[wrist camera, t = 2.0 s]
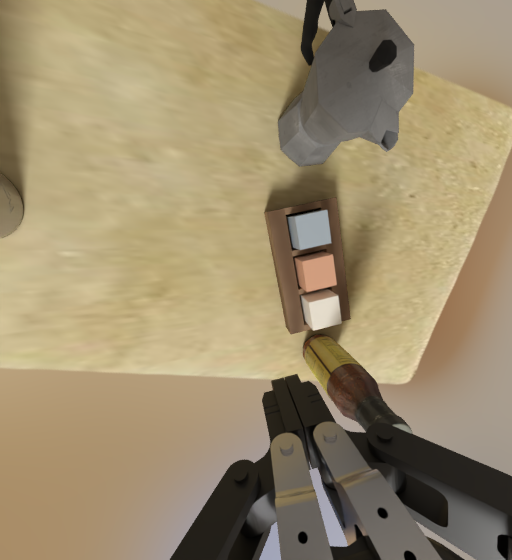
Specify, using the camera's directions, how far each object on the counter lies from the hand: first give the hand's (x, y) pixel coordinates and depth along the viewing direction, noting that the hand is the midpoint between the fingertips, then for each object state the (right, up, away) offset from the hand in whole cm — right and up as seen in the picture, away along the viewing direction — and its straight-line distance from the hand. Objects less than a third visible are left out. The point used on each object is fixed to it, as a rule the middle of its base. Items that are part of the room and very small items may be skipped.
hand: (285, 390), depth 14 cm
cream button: (+8, +2, +26) cm, 27 cm away
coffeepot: (+5, +28, +22) cm, 36 cm away
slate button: (+5, +14, +23) cm, 27 cm away
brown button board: (+6, +8, +26) cm, 28 cm away
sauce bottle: (+9, -6, +30) cm, 32 cm away
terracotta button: (+7, +8, +24) cm, 26 cm away
